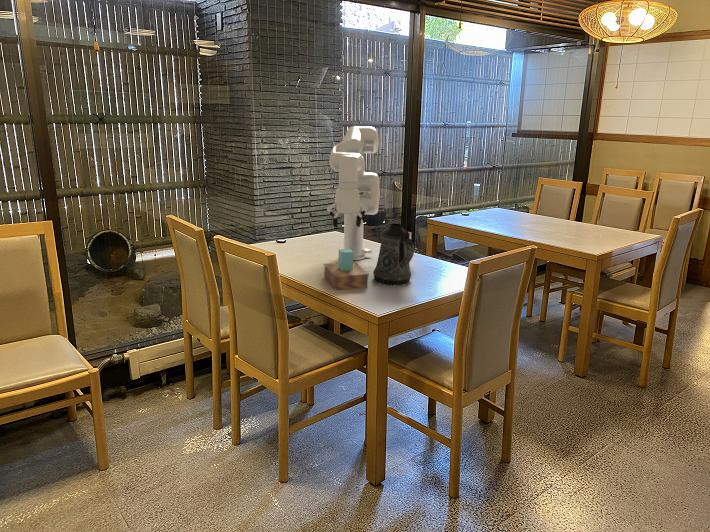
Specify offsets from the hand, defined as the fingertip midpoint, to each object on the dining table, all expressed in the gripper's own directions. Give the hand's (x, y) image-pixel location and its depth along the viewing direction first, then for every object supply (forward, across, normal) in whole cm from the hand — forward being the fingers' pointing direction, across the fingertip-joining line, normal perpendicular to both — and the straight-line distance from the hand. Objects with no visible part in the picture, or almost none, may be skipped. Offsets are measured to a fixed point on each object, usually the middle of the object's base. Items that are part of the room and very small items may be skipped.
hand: (346, 226), depth 222 cm
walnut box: (+24, 0, +1) cm, 24 cm away
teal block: (+18, 0, 0) cm, 18 cm away
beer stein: (+24, -22, +3) cm, 33 cm away
